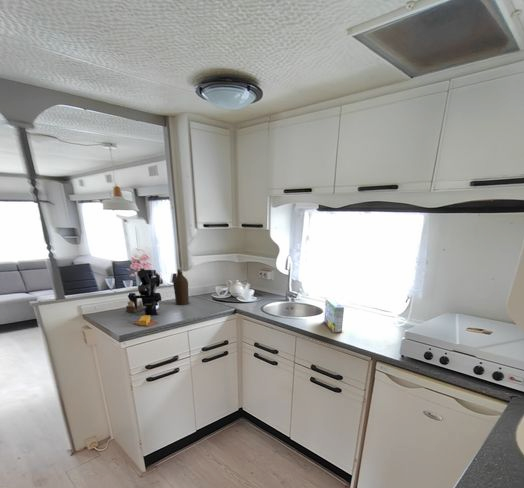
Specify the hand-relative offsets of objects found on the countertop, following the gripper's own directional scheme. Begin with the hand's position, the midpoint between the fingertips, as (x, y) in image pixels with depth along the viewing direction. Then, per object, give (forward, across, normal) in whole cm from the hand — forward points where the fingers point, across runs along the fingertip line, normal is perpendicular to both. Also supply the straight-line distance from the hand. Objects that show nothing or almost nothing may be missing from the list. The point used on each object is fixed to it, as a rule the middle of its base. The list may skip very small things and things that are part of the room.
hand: (144, 309), depth 196 cm
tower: (-13, -13, +25) cm, 31 cm away
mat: (+7, 0, +5) cm, 9 cm away
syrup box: (-18, +1, +26) cm, 32 cm away
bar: (+7, 0, +4) cm, 8 cm away
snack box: (+18, +113, -6) cm, 114 cm away
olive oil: (-26, +17, +39) cm, 50 cm away
